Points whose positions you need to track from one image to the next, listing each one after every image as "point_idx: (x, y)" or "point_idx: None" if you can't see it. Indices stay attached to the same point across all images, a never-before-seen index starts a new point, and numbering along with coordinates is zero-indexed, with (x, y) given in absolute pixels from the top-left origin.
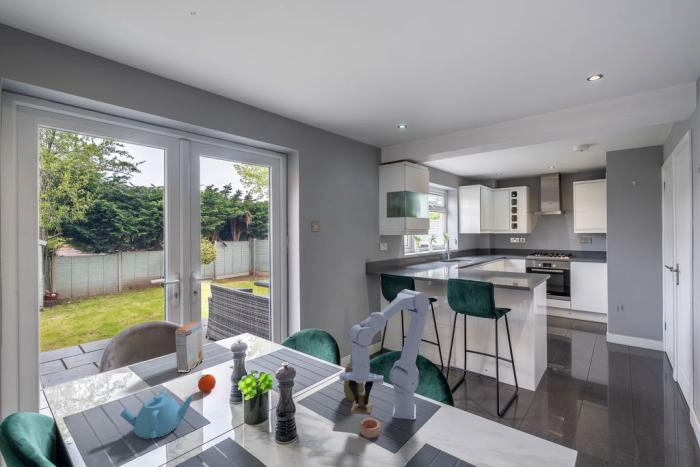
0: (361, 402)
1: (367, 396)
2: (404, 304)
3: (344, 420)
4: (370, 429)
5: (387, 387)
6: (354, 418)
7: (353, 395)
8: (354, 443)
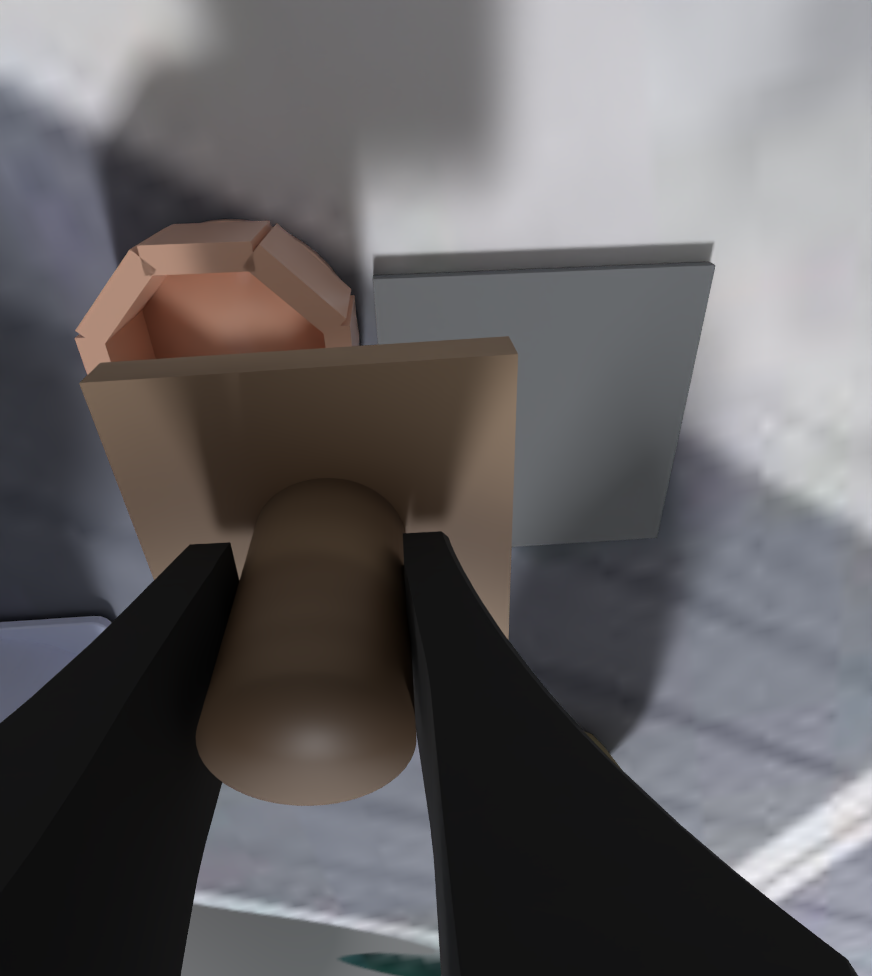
0: (305, 557)
1: (64, 691)
2: None
3: (586, 475)
4: (164, 247)
5: (308, 901)
6: None
7: None
8: (383, 69)
